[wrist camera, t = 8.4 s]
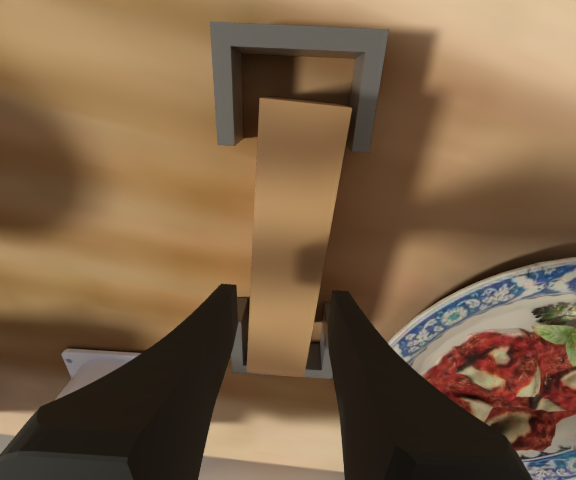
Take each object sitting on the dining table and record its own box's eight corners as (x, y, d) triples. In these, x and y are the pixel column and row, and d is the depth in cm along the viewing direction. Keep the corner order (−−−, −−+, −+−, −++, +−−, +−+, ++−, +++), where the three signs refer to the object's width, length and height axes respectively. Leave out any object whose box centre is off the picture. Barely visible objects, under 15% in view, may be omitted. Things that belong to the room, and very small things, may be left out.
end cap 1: (359, 144, 16) (368, 152, 14) (229, 137, 16) (217, 144, 14) (374, 39, 14) (389, 29, 12) (224, 33, 14) (209, 21, 12)
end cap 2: (328, 351, 23) (332, 378, 21) (238, 345, 23) (231, 372, 21) (336, 303, 21) (340, 328, 19) (236, 297, 21) (228, 321, 19)
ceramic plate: (517, 488, 32) (537, 524, 29) (303, 418, 28) (304, 453, 25) (788, 326, 21) (860, 360, 18) (500, 172, 17) (538, 187, 14)
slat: (303, 320, 22) (303, 377, 18) (257, 315, 22) (246, 371, 18) (337, 103, 15) (352, 107, 11) (271, 96, 15) (259, 97, 11)
